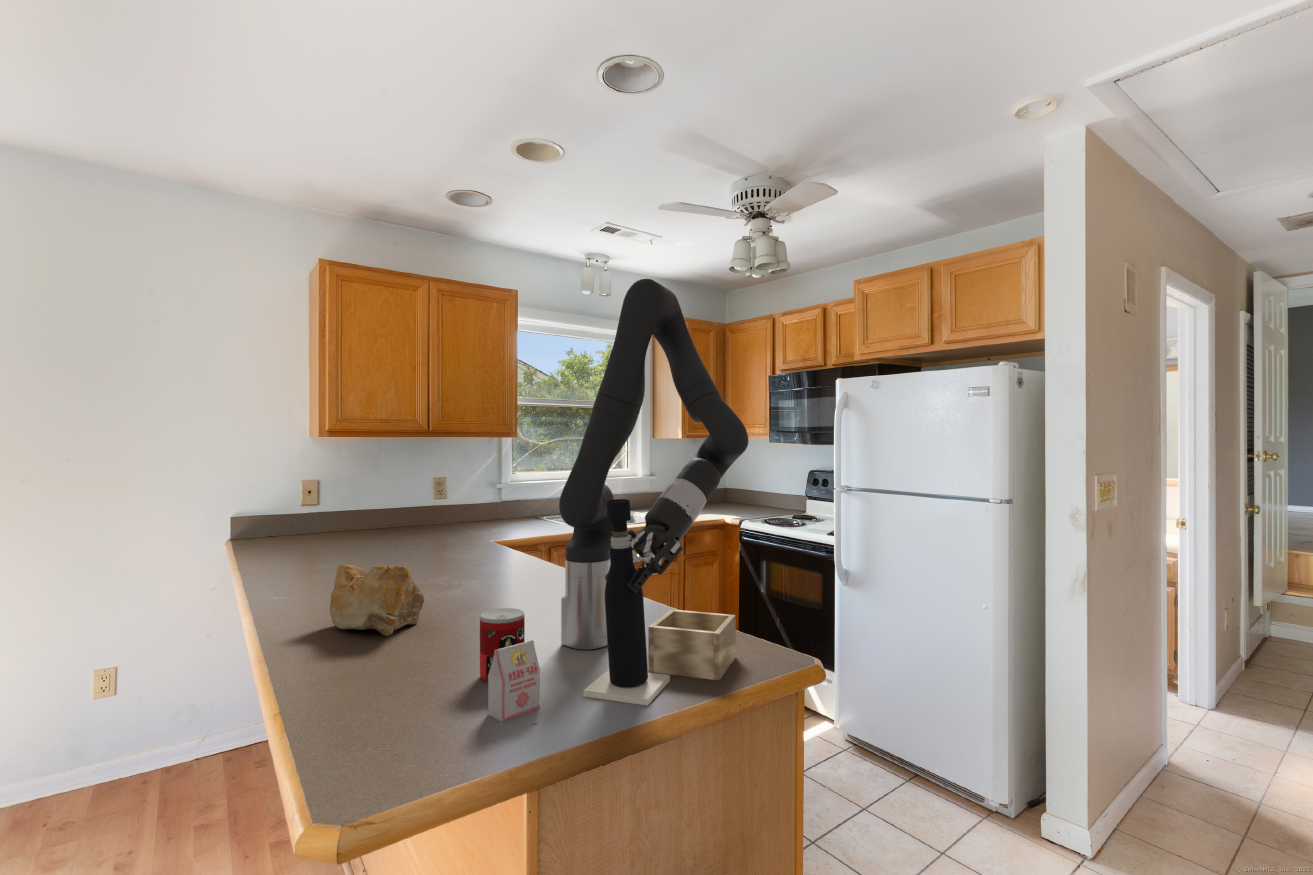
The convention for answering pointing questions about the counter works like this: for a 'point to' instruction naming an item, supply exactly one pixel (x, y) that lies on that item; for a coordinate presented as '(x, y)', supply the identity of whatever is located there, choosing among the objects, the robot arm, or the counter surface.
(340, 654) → the counter surface
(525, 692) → the white paper bag
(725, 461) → the robot arm
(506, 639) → the canned food
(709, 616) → the pine crate
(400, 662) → the counter surface
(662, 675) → the cream tile
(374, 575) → the rough brown rock
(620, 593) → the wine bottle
